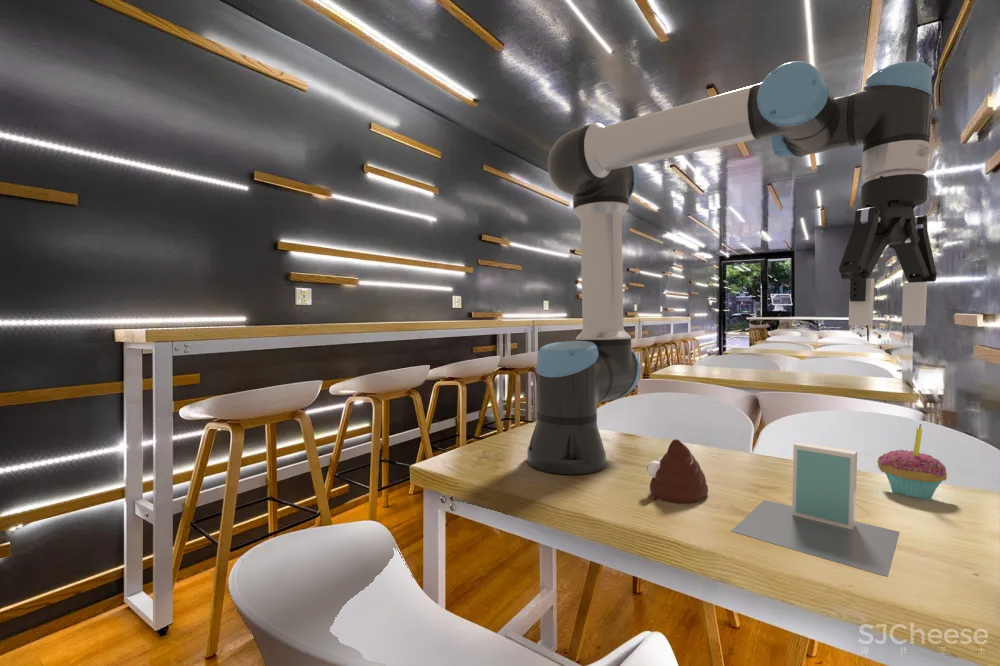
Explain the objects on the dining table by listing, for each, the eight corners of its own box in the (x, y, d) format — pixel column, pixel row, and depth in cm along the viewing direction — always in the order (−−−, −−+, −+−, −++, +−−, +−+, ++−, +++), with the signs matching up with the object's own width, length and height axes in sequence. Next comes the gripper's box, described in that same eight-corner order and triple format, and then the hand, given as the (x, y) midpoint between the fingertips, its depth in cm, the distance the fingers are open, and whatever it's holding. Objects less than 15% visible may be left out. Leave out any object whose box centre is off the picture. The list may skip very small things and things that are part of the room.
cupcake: (960, 508, 73) (963, 428, 72) (895, 503, 74) (898, 425, 74) (923, 488, 81) (925, 416, 81) (865, 484, 83) (867, 414, 82)
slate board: (730, 535, 63) (730, 531, 63) (764, 503, 74) (764, 499, 74) (887, 581, 52) (887, 576, 52) (899, 536, 63) (899, 531, 63)
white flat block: (791, 515, 68) (793, 444, 68) (795, 510, 70) (797, 441, 70) (852, 530, 64) (854, 454, 63) (855, 525, 65) (857, 451, 65)
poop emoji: (691, 513, 71) (692, 449, 70) (637, 497, 77) (638, 439, 76) (716, 495, 78) (717, 437, 78) (665, 482, 84) (666, 428, 84)
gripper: (872, 159, 62) (866, 326, 62) (970, 183, 72) (963, 325, 73) (813, 174, 68) (808, 324, 69) (910, 194, 79) (904, 324, 80)
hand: (887, 325), depth 71 cm, fingers open, 13 cm apart
